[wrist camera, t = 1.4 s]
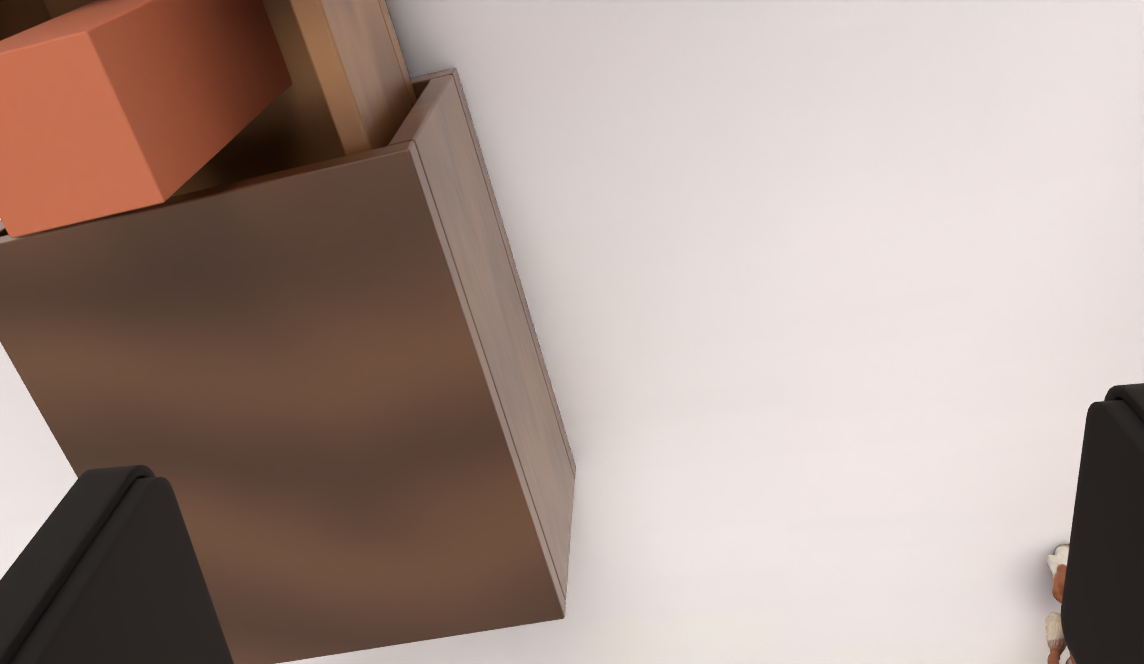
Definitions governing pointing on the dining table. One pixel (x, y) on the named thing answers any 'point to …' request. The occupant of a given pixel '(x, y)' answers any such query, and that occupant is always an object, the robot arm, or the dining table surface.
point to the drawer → (298, 86)
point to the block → (126, 104)
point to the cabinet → (318, 389)
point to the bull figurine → (1054, 620)
